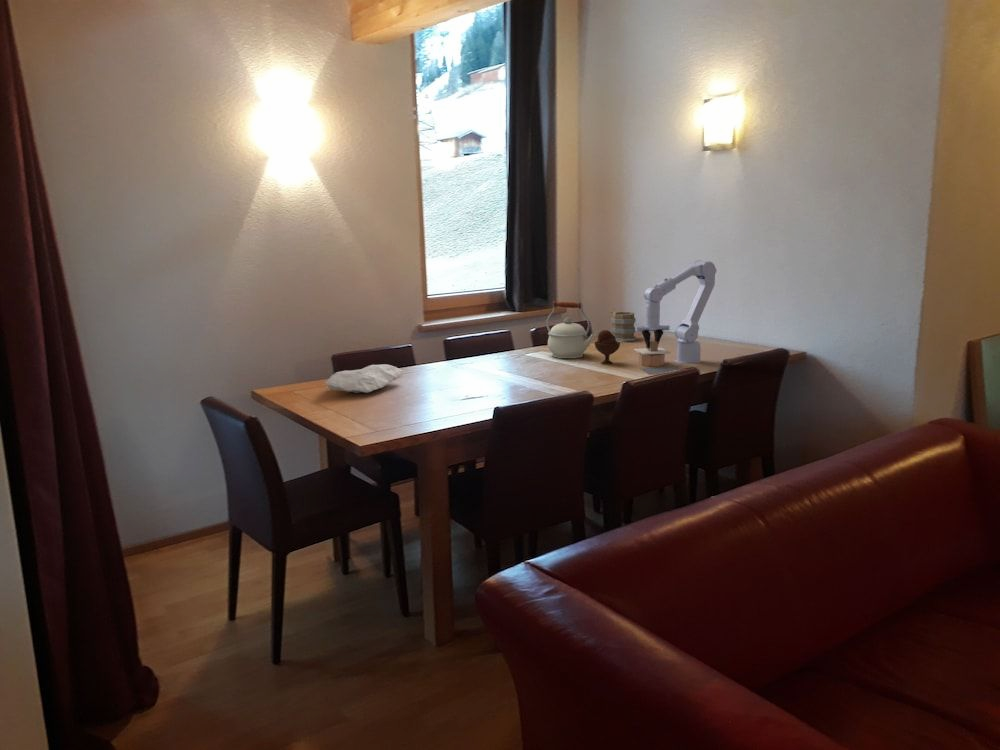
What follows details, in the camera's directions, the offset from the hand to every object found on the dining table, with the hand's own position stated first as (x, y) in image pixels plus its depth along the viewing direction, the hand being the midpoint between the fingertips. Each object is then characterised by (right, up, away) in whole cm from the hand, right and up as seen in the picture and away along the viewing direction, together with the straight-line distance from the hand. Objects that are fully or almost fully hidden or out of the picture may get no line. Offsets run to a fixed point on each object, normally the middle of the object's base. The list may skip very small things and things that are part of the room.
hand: (652, 347), depth 322 cm
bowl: (0, -7, +2) cm, 7 cm away
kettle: (-33, -3, +24) cm, 40 cm away
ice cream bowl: (-19, -7, +5) cm, 20 cm away
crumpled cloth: (-118, -18, -33) cm, 124 cm away
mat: (+2, -10, -12) cm, 16 cm away
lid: (0, -2, 0) cm, 2 cm away
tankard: (-3, +7, +66) cm, 66 cm away
